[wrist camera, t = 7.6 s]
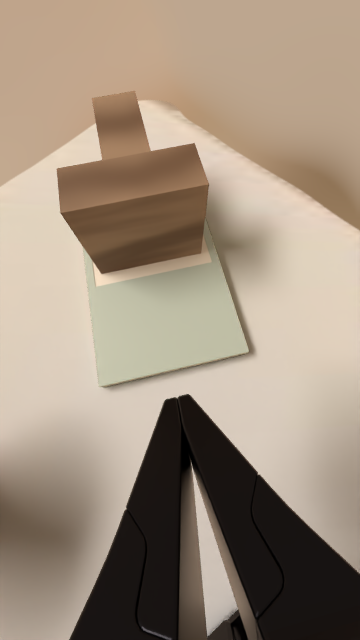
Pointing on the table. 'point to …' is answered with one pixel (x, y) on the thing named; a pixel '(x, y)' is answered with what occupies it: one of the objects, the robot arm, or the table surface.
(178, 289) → the board
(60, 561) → the table surface
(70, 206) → the t block
